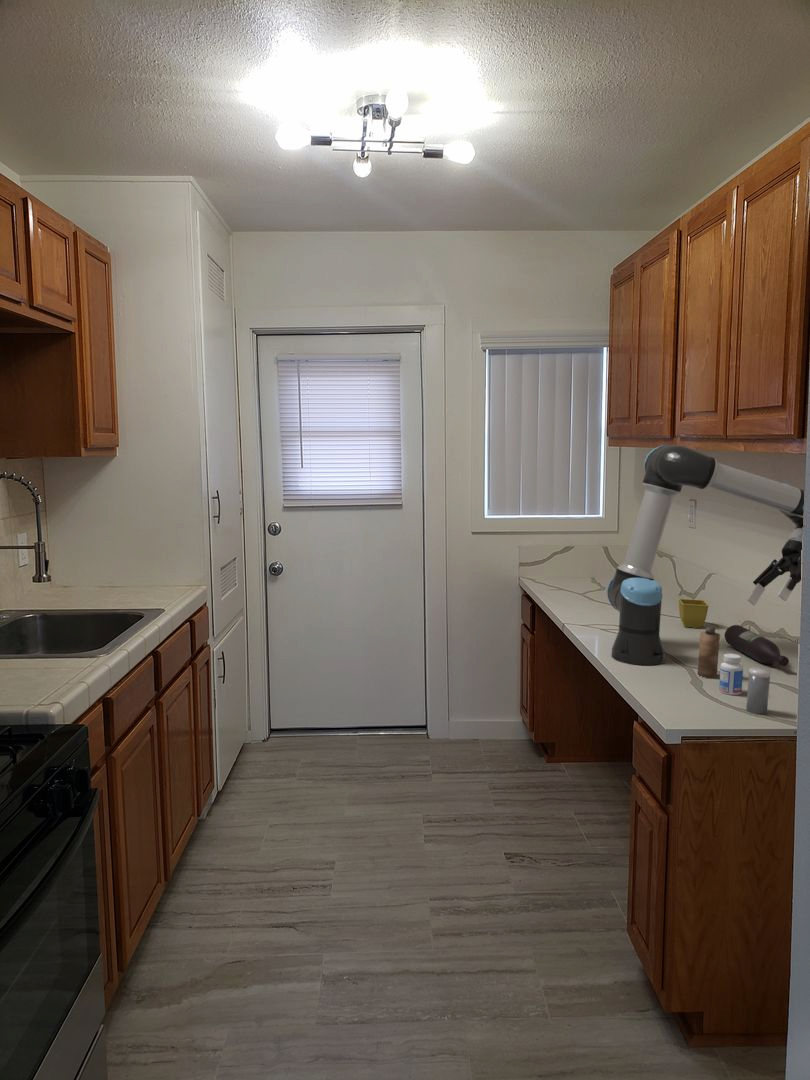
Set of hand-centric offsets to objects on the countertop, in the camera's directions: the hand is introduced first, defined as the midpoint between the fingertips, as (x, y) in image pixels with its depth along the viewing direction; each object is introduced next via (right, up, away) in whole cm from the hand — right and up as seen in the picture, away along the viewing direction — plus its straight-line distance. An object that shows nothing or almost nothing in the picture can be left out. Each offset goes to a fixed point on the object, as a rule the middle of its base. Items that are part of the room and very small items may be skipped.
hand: (765, 600), depth 225 cm
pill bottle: (-23, -22, -28) cm, 42 cm away
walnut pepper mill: (-23, -20, -14) cm, 34 cm away
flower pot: (-5, -13, +44) cm, 46 cm away
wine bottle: (-1, -13, +18) cm, 22 cm away
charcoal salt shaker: (-22, -23, -42) cm, 53 cm away
